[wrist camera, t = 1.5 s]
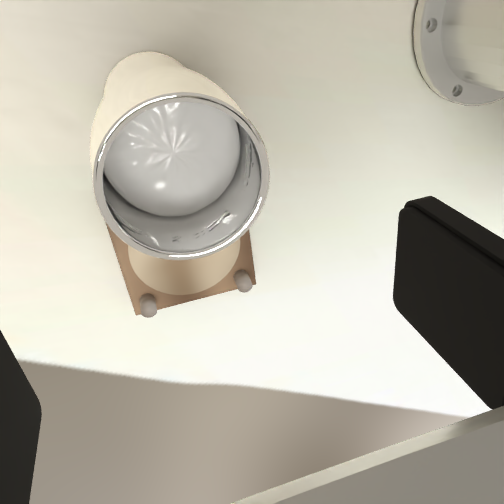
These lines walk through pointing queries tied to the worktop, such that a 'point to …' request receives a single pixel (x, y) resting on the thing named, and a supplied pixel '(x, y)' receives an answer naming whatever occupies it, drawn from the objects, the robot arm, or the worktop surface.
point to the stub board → (183, 275)
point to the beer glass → (174, 160)
